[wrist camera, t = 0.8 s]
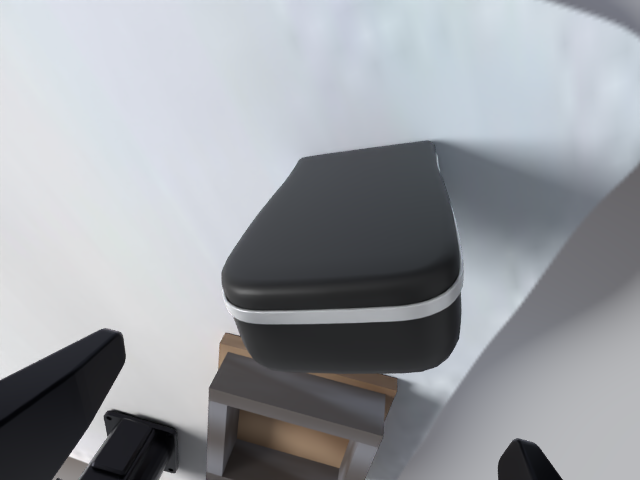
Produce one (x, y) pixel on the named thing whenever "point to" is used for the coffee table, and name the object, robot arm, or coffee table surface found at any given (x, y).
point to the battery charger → (351, 266)
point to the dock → (292, 421)
